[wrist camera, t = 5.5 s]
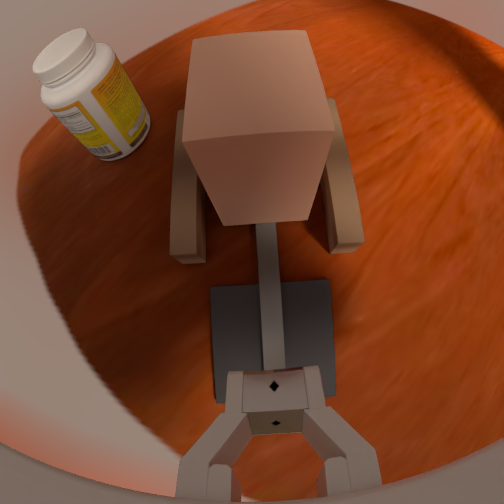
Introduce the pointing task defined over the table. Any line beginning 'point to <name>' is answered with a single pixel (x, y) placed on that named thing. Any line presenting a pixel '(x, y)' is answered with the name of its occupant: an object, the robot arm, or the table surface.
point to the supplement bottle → (92, 95)
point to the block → (257, 124)
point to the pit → (294, 327)
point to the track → (265, 228)
